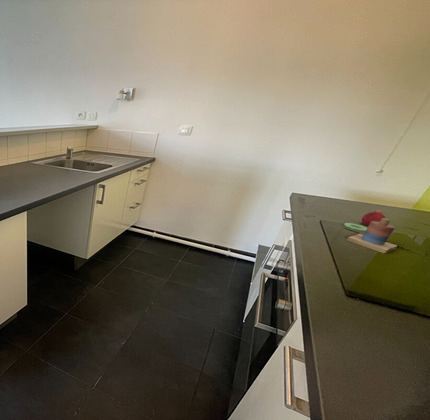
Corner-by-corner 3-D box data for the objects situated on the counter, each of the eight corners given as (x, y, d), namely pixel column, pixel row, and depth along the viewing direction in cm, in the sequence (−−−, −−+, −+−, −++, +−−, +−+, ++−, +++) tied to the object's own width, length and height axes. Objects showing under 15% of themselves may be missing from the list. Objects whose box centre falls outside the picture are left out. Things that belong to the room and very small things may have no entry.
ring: (347, 225, 101) (349, 222, 101) (370, 232, 96) (372, 228, 95) (339, 227, 99) (341, 224, 98) (363, 234, 93) (365, 231, 92)
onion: (366, 230, 98) (377, 211, 95) (353, 224, 103) (363, 206, 100) (384, 232, 96) (395, 213, 93) (370, 226, 102) (381, 208, 99)
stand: (357, 237, 91) (372, 212, 87) (395, 249, 83) (413, 223, 80) (346, 240, 88) (360, 215, 84) (384, 253, 80) (402, 226, 76)
